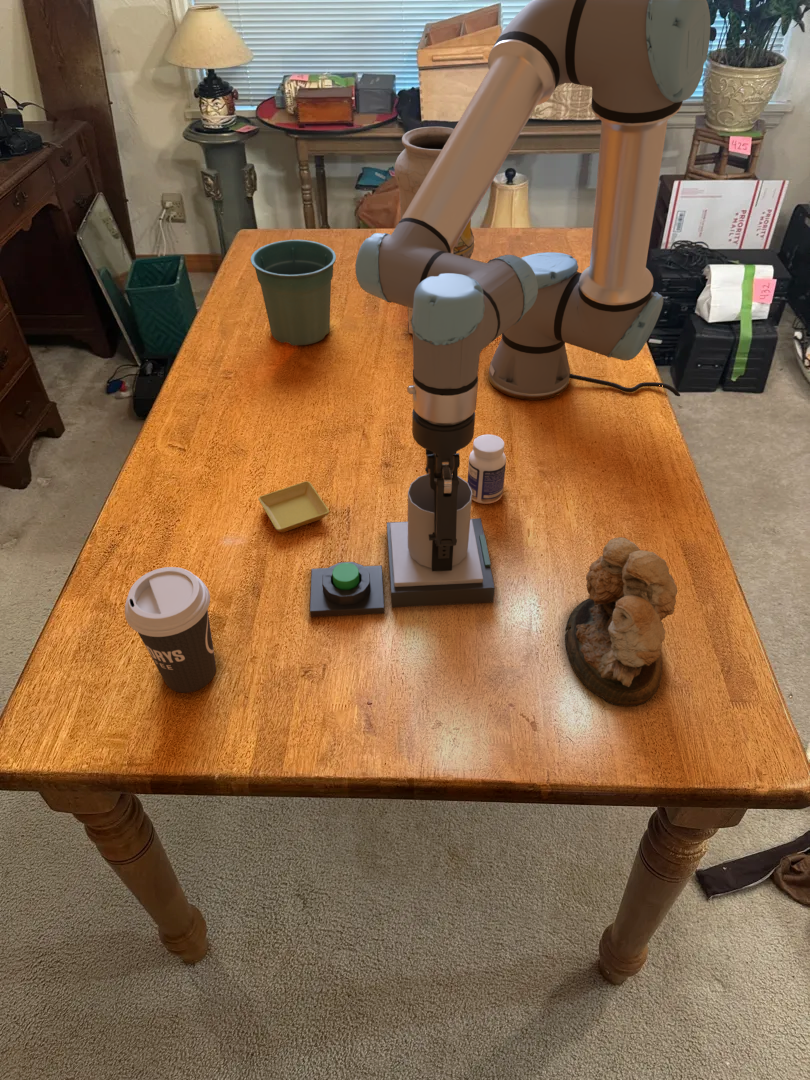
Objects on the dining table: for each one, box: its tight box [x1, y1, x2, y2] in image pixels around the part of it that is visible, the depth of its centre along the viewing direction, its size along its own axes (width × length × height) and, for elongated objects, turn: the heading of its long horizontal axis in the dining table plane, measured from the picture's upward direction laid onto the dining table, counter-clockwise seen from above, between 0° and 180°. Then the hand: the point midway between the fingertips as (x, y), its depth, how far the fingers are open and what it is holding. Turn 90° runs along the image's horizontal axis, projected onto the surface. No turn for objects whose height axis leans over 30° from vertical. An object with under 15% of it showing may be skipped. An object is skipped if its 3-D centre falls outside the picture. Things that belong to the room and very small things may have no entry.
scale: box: [386, 517, 496, 608], centre depth 108 cm, size 14×14×4 cm
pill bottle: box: [467, 433, 507, 505], centre depth 118 cm, size 6×6×10 cm
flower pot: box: [250, 239, 337, 346], centre depth 153 cm, size 16×16×16 cm
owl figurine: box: [564, 536, 679, 707], centre depth 93 cm, size 18×12×17 cm, turn 6°
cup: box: [407, 473, 473, 568], centre depth 103 cm, size 8×8×10 cm
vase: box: [394, 126, 475, 259], centre depth 167 cm, size 18×18×30 cm
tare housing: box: [309, 561, 385, 618], centre depth 105 cm, size 10×8×3 cm
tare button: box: [332, 563, 359, 590], centre depth 103 cm, size 4×4×2 cm
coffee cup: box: [124, 566, 217, 694], centre depth 91 cm, size 10×10×15 cm
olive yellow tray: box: [258, 480, 330, 533], centre depth 117 cm, size 9×9×2 cm
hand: (438, 545), depth 106 cm, fingers closed on cup, 8 cm apart
